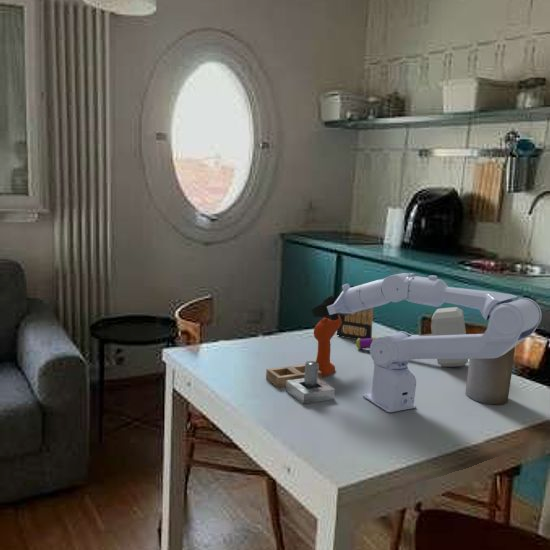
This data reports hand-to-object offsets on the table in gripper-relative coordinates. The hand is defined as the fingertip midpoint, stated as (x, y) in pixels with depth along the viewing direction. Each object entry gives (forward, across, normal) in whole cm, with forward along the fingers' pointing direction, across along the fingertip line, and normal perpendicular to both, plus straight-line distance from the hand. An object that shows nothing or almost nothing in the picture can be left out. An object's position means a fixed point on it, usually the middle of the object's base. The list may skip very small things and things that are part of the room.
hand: (322, 308), depth 138 cm
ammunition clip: (+20, -32, +16) cm, 41 cm away
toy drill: (+8, -4, +16) cm, 19 cm away
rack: (+8, +10, +14) cm, 19 cm away
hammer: (0, -28, +24) cm, 37 cm away
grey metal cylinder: (0, +14, +16) cm, 22 cm away
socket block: (0, +14, +16) cm, 22 cm away
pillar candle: (-24, -16, +33) cm, 44 cm away
